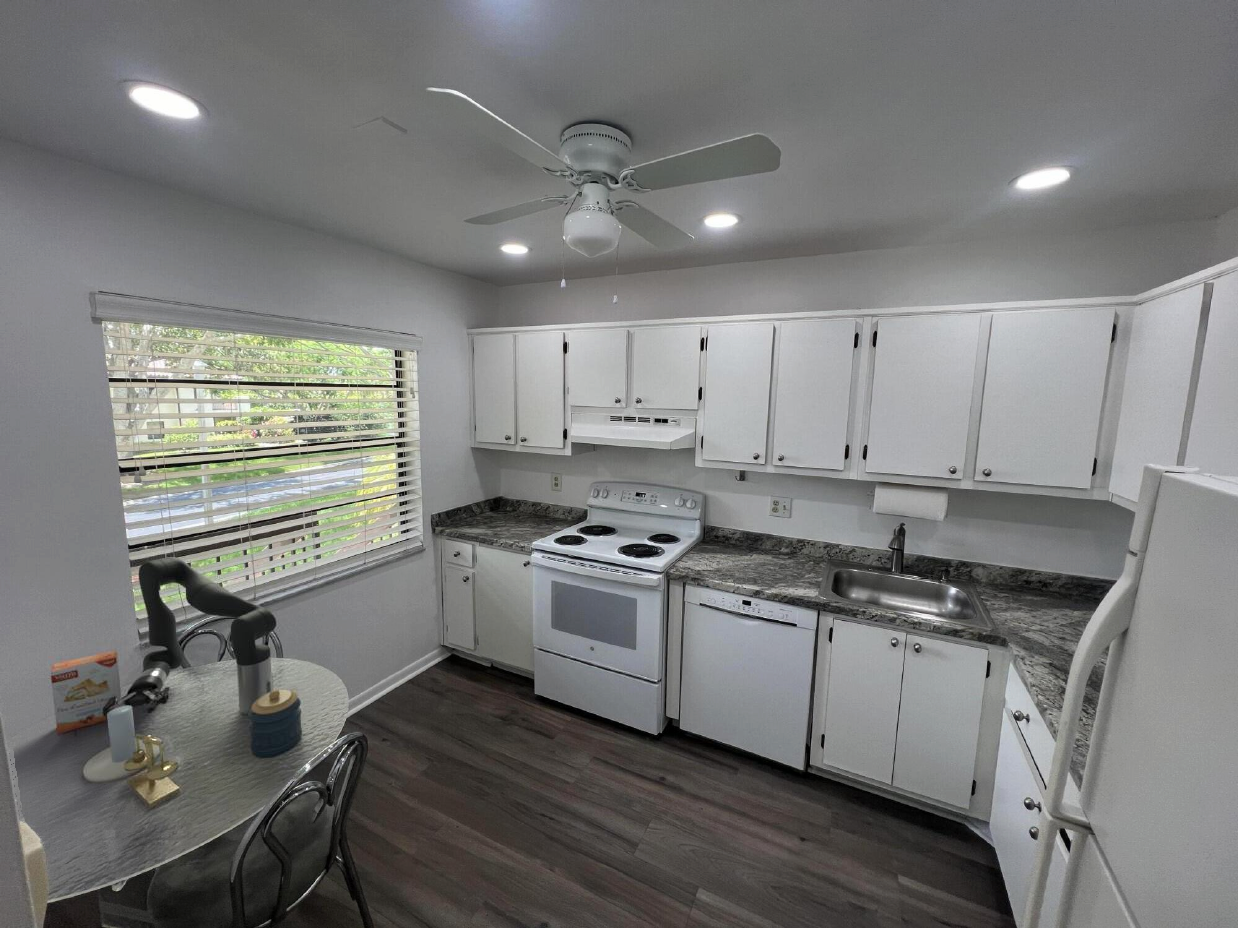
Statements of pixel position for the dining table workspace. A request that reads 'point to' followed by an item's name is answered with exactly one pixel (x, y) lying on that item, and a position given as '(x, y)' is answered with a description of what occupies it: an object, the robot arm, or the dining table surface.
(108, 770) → the cream plate
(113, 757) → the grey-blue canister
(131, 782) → the brass balance
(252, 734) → the canister
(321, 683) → the dining table surface
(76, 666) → the cracker box
